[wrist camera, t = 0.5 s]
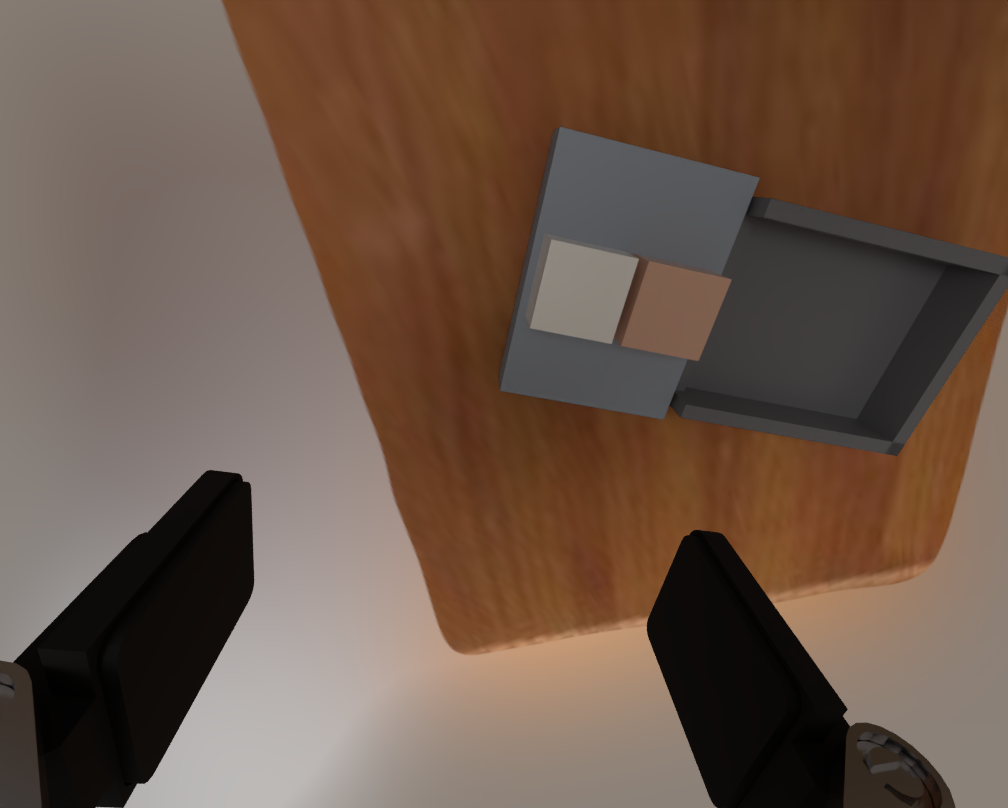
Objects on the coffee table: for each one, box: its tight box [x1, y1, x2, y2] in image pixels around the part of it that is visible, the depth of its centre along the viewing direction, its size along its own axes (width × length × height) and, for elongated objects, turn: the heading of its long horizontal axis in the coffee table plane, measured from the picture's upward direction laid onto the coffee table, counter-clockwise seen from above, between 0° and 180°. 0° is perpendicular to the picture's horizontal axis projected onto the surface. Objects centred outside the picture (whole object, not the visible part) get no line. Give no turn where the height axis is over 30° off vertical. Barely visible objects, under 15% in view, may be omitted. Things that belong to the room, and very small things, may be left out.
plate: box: [499, 127, 760, 420], centre depth 31 cm, size 16×12×2 cm
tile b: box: [614, 253, 732, 361], centre depth 29 cm, size 5×5×3 cm
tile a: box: [525, 233, 639, 344], centre depth 28 cm, size 5×5×3 cm
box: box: [670, 197, 1008, 456], centre depth 32 cm, size 14×17×4 cm
